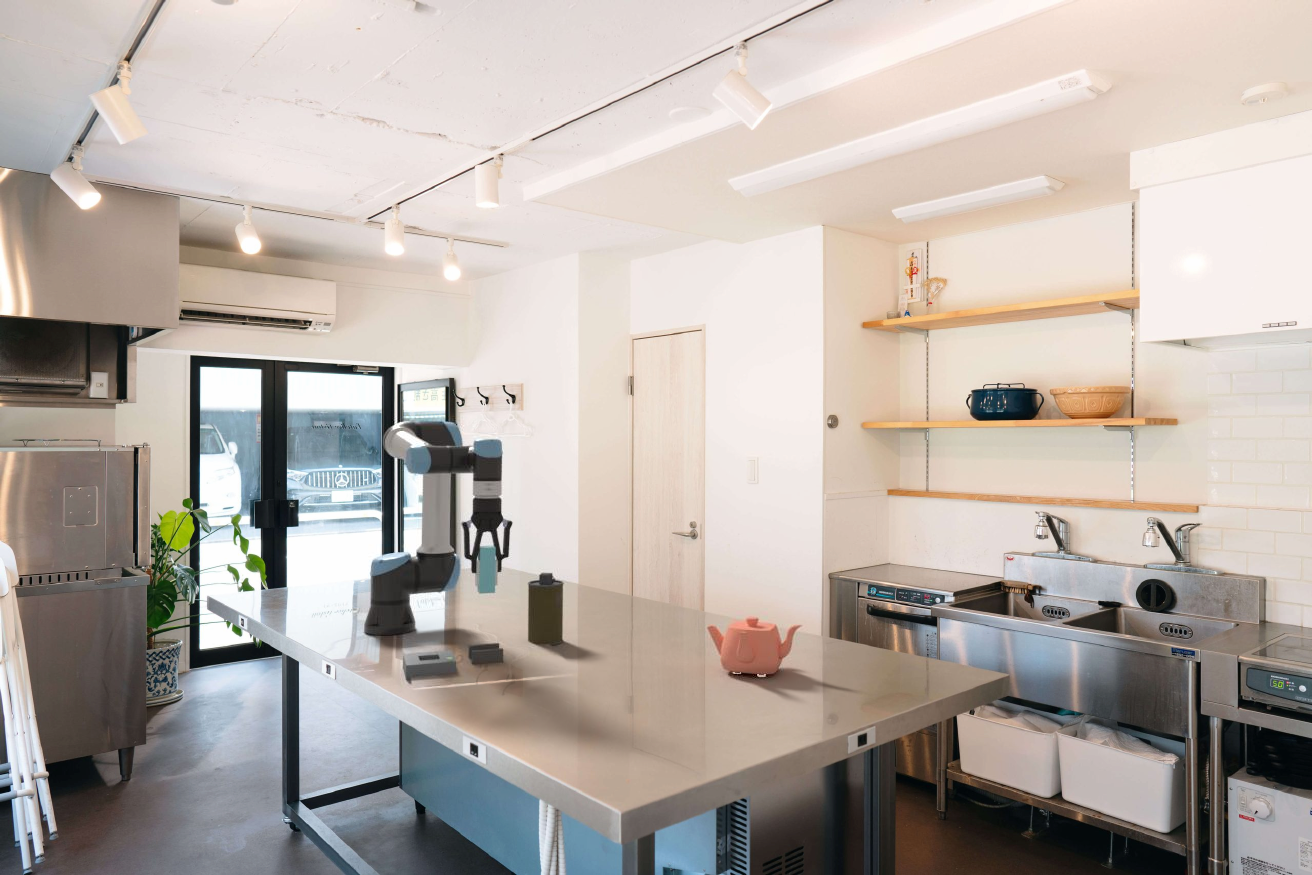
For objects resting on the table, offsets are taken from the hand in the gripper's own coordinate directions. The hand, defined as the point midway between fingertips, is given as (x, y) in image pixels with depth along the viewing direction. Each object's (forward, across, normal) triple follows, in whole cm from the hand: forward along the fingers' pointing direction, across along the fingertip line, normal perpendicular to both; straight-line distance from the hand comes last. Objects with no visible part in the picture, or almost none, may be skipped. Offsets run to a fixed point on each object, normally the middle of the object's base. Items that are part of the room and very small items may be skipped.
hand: (486, 584), depth 222 cm
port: (+20, -15, -5) cm, 26 cm away
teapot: (+20, +63, -32) cm, 74 cm away
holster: (+20, 0, 0) cm, 20 cm away
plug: (+2, 0, 0) cm, 2 cm away
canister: (+21, +20, +17) cm, 33 cm away
